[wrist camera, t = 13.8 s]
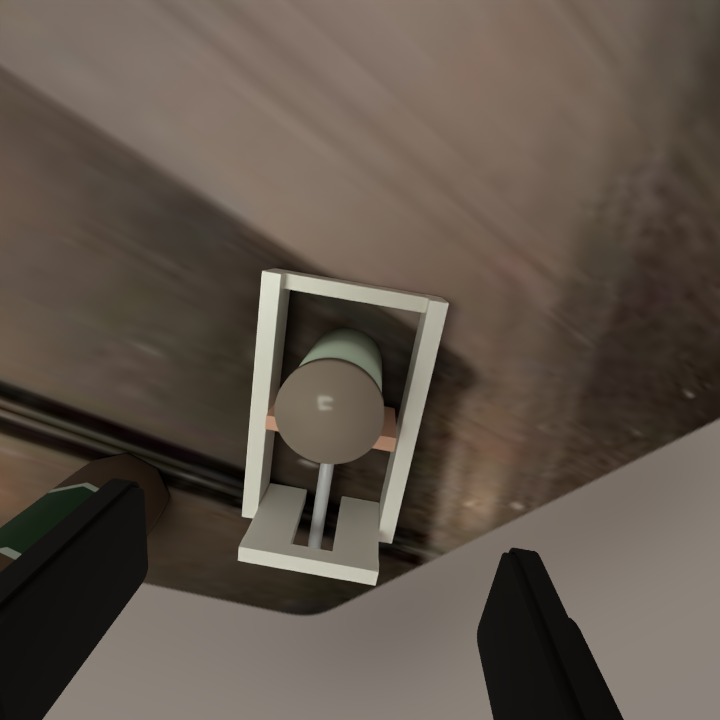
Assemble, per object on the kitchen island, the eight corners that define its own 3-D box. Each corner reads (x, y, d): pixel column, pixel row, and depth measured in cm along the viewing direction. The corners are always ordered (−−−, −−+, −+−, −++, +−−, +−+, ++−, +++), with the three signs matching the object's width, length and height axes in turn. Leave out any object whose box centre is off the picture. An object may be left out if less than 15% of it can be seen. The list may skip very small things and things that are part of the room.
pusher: (394, 408, 29) (396, 438, 24) (366, 542, 33) (363, 590, 28) (284, 388, 29) (266, 415, 24) (269, 524, 33) (251, 569, 28)
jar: (390, 333, 27) (393, 373, 19) (376, 404, 29) (374, 472, 20) (312, 319, 27) (279, 354, 19) (303, 392, 29) (269, 454, 20)
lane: (441, 297, 26) (461, 315, 20) (390, 516, 32) (392, 588, 25) (275, 268, 26) (238, 276, 20) (254, 492, 32) (220, 557, 25)
